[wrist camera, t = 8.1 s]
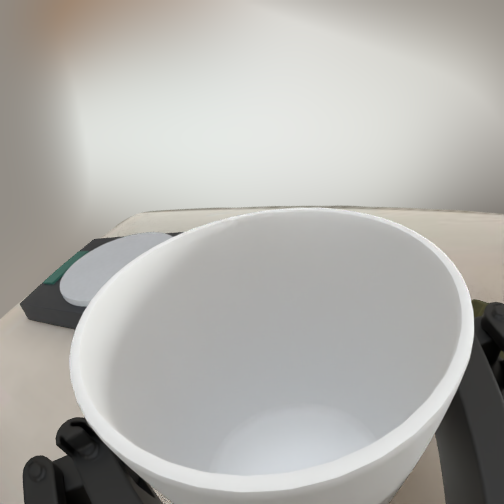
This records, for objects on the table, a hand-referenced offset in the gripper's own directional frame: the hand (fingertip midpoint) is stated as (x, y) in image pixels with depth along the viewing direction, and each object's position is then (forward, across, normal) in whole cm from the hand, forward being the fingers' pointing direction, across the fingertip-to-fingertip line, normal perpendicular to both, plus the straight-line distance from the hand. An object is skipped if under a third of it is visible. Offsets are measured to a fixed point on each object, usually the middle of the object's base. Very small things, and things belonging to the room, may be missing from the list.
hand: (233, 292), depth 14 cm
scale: (+23, -12, -10) cm, 27 cm away
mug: (-5, 0, -6) cm, 8 cm away
